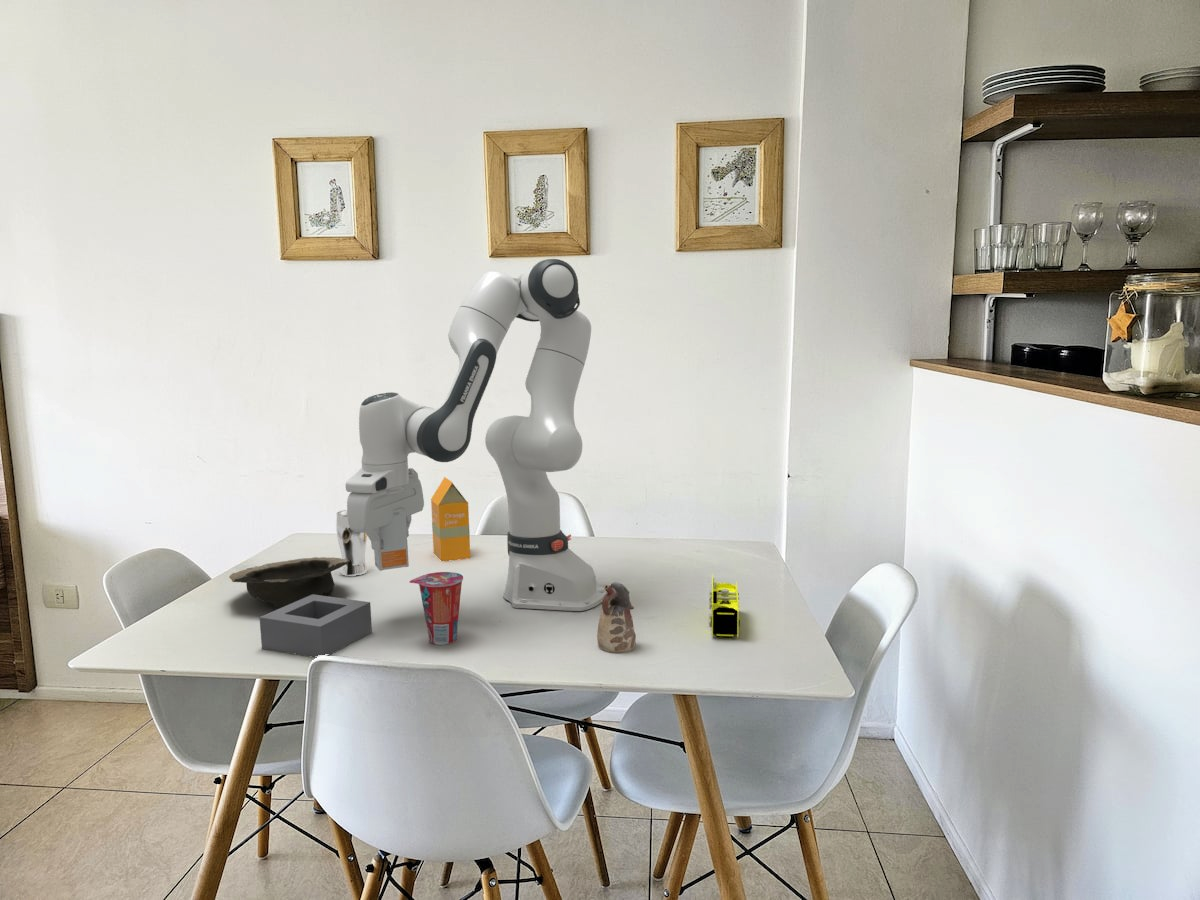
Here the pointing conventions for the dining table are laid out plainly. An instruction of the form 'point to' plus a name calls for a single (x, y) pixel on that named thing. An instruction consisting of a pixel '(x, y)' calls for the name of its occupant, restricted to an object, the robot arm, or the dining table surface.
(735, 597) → the yellow toy chassis
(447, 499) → the orange juice
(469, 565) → the dining table surface
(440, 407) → the robot arm
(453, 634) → the cup
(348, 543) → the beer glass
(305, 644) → the mount block
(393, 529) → the skincare box
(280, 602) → the stone bowl
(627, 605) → the figurine
